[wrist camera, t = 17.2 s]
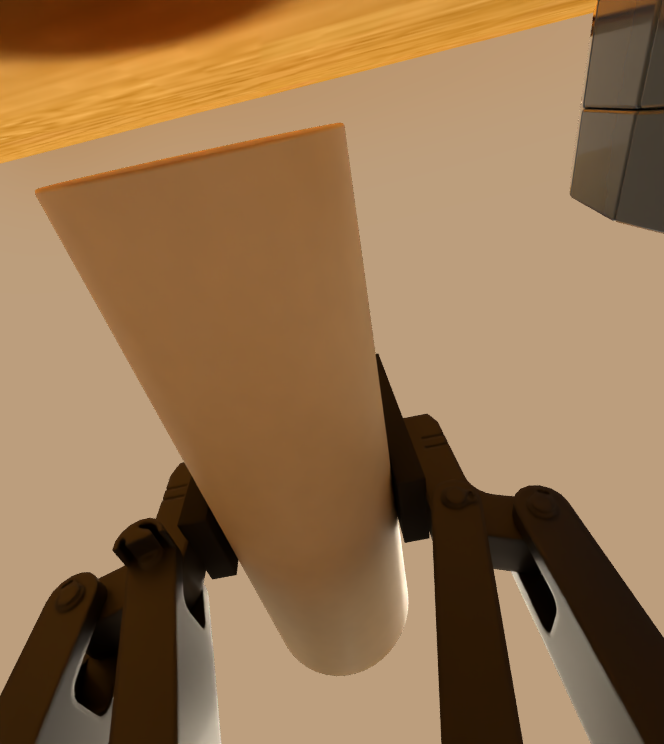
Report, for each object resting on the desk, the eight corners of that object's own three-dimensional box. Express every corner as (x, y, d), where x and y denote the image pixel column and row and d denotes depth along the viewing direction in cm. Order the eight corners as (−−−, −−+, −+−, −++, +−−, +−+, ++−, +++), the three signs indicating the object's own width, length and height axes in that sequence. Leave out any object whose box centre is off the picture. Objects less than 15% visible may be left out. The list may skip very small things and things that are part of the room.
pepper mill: (101, 172, 9) (284, 574, 18) (-53, 211, 4) (292, 712, 14) (321, 125, 9) (390, 546, 18) (380, 117, 5) (431, 675, 14)
